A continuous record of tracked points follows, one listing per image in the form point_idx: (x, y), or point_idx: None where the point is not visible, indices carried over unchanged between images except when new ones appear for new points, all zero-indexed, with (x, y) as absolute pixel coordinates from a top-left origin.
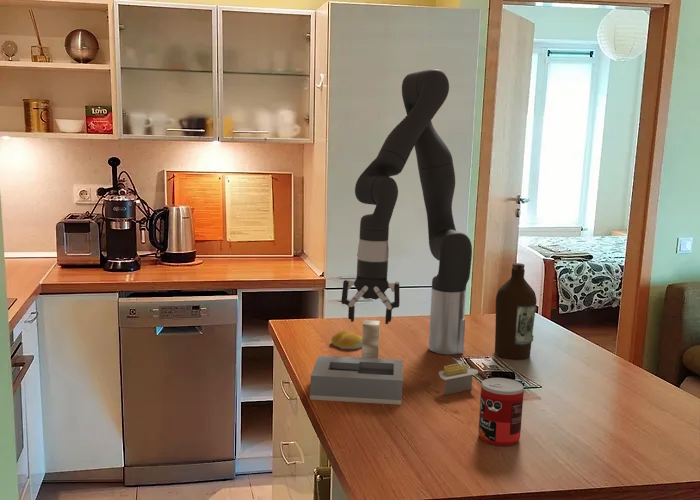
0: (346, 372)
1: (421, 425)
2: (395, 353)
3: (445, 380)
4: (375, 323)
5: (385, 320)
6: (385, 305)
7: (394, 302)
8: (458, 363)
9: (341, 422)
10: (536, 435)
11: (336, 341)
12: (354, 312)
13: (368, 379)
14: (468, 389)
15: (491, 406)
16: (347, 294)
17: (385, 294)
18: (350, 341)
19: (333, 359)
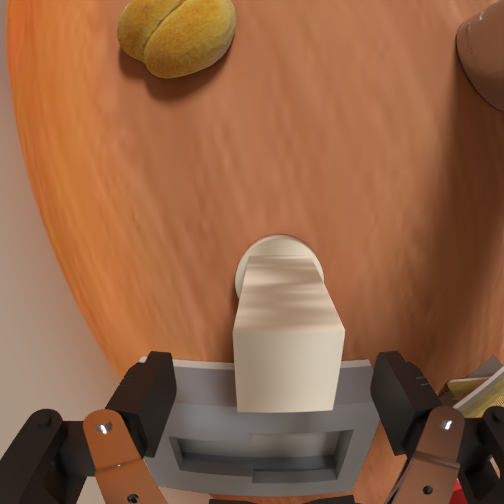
0: (226, 481)
1: (358, 489)
2: (363, 89)
3: None
4: (313, 388)
5: (375, 406)
6: (397, 482)
7: (460, 484)
8: (500, 395)
9: (240, 497)
10: None
11: (133, 53)
12: (155, 383)
13: (279, 495)
14: (488, 361)
15: None
16: (45, 471)
17: (447, 495)
18: (182, 62)
19: (170, 422)
